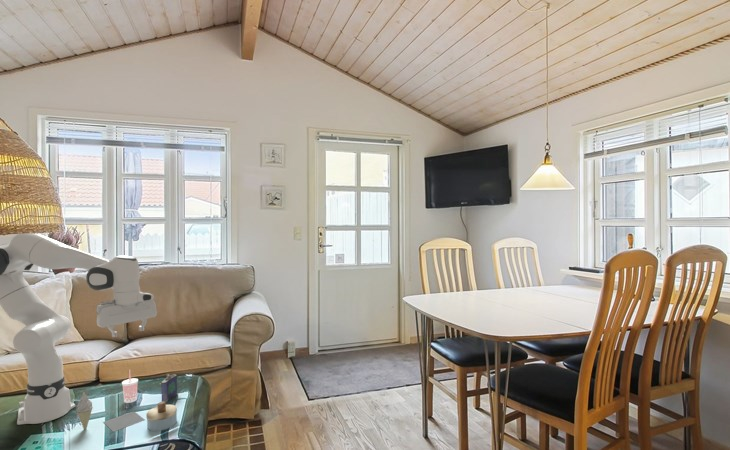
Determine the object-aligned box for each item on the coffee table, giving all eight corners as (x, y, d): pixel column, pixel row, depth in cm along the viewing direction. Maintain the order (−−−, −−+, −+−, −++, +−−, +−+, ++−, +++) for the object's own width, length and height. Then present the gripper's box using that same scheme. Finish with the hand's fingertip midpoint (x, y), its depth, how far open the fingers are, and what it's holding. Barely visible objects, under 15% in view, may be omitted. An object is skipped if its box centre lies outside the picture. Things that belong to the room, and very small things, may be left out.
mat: (103, 423, 156) (103, 422, 156) (133, 412, 164) (133, 411, 164) (113, 433, 149) (113, 431, 149) (144, 421, 157) (144, 419, 157)
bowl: (143, 426, 153) (143, 414, 153) (169, 416, 161) (169, 405, 161) (154, 435, 147) (154, 423, 147) (181, 424, 154) (180, 412, 154)
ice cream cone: (90, 425, 154) (89, 387, 154) (95, 430, 151) (93, 390, 151) (75, 431, 150) (73, 391, 150) (79, 435, 147) (78, 395, 147)
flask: (165, 403, 172) (164, 378, 171) (159, 403, 172) (158, 378, 172) (178, 393, 181) (178, 370, 181) (172, 393, 181) (172, 369, 181)
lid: (153, 423, 146) (153, 412, 146) (141, 414, 153) (141, 404, 153) (181, 412, 155) (181, 402, 154) (169, 404, 161) (169, 394, 161)
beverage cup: (141, 400, 175) (140, 368, 174) (126, 406, 170) (125, 373, 169) (134, 397, 178) (133, 365, 178) (119, 402, 173) (118, 370, 173)
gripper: (99, 304, 144) (100, 342, 145) (158, 294, 160) (159, 328, 160) (93, 301, 148) (94, 338, 149) (151, 292, 164) (152, 326, 164)
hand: (128, 333), depth 155 cm, fingers open, 8 cm apart
